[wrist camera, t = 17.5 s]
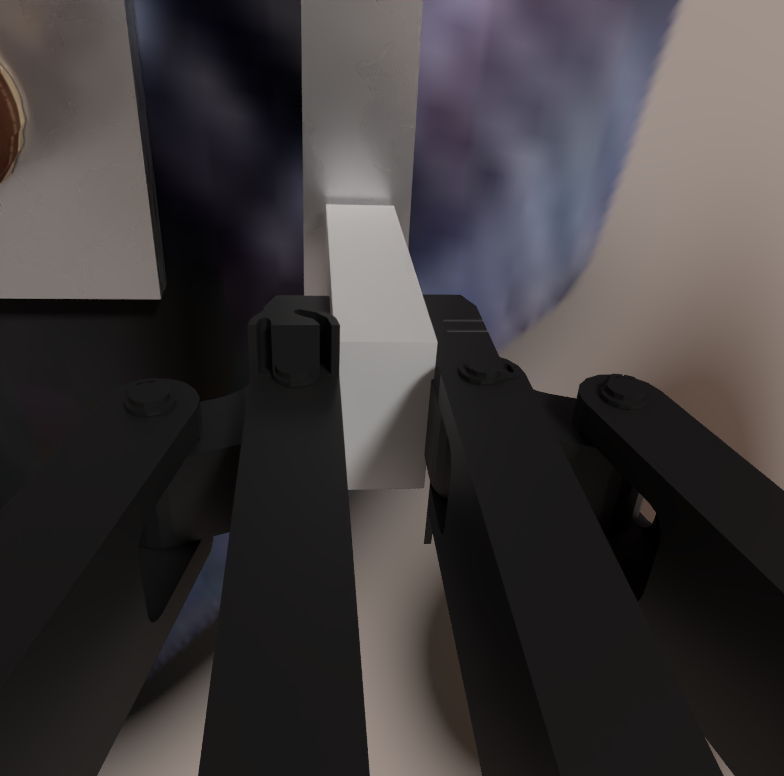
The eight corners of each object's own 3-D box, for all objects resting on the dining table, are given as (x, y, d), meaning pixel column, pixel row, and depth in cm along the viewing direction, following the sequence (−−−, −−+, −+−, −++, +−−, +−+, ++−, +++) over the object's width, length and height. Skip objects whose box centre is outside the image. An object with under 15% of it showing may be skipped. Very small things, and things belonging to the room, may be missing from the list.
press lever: (267, -268, 14) (258, -321, 12) (452, -252, 15) (483, -300, 12) (285, 395, 21) (282, 454, 19) (408, 394, 22) (422, 451, 19)
